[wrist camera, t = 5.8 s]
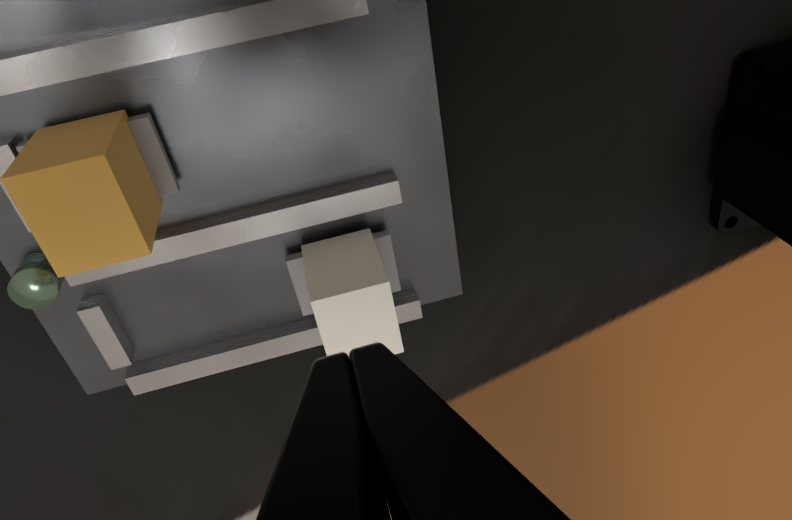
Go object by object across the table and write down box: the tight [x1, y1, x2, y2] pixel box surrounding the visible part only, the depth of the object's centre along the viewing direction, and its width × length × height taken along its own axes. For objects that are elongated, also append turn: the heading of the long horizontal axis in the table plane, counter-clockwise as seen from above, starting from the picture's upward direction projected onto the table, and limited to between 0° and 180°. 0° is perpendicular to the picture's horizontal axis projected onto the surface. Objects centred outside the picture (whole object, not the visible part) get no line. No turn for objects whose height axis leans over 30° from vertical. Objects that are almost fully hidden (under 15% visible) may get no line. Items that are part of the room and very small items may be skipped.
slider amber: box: [0, 109, 180, 278], centre depth 14 cm, size 3×2×3 cm
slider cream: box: [285, 228, 404, 359], centre depth 17 cm, size 3×2×3 cm
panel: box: [0, 0, 463, 395], centre depth 15 cm, size 12×14×2 cm
